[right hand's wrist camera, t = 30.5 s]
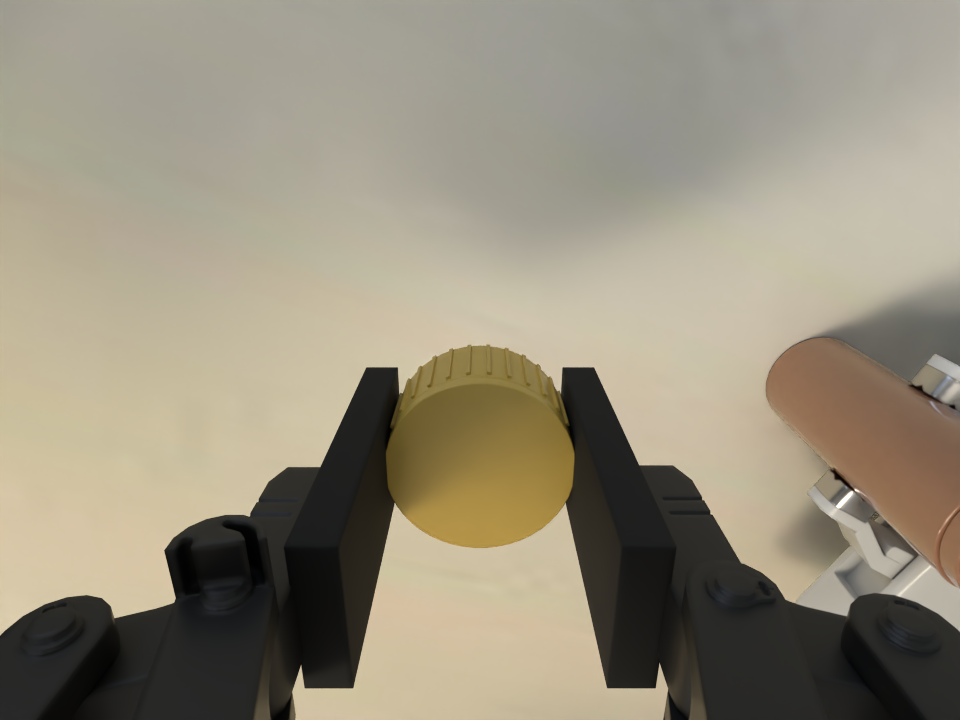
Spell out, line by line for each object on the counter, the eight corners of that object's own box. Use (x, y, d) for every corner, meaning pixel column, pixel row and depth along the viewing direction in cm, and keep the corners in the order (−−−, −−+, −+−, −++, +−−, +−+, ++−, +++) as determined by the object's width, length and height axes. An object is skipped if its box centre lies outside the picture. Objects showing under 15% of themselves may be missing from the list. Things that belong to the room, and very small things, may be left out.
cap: (600, 414, 15) (620, 462, 13) (487, 521, 16) (488, 581, 14) (471, 306, 14) (469, 339, 12) (361, 429, 15) (341, 479, 13)
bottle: (773, 434, 31) (1128, 811, 14) (758, 354, 30) (1139, 675, 13) (866, 406, 31) (1350, 765, 14) (855, 324, 29) (1393, 616, 12)
